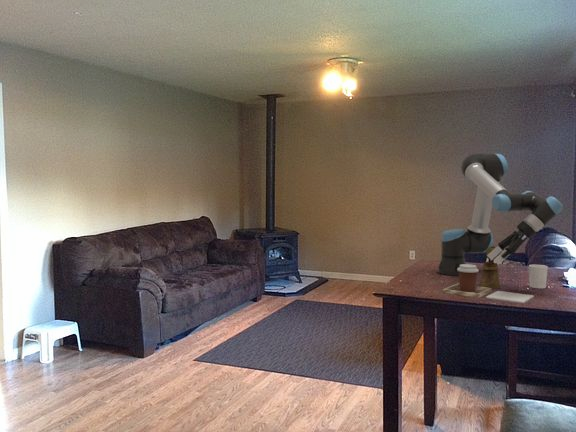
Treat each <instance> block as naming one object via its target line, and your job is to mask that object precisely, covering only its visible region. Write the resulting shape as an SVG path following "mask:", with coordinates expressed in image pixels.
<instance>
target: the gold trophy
mask: <svg viewBox="0 0 576 432" xmlns="http://www.w3.org/2000/svg"><path fill="white" fill-rule="evenodd" d="M496 247H497V246H494V245H493V246H492V247H490V248H488V249H487V250H486V252H485V257H486V258H487V259H488V261H484V262H483V265H482V266H481V268H482V271H481V272H482V273H481V279H480V282H479V283H480V285H479V287H486V288H492V289H499V288H501V283H500V278H499V277H500V276H499V265H498V264H497V263H496V262H495V261H494V259H495V258H496V257H497V256H499V255H500V253H499V254H498V255H497V256H496V257H495V258H494V259H492V260H491V259H490V258H489V257H488V256H487V255H488V254H489V253H490V252H492V251H493V250H494V249H495V248H496Z"/></svg>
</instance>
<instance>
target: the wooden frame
mask: <svg viewBox="0 0 576 432" xmlns="http://www.w3.org/2000/svg"><path fill="white" fill-rule="evenodd" d="M458 287H459V288H458ZM455 288H456V289H460V284H459V283H456V284H453V285H450V286H448V287H445V288H443V289H442V293H443V292H445V293H444V294H449V293H450V294H451V295H456V296H462V297H471V298H477V299H479V298H481V297H483V296H485V295H489V294H491V293H493V288H486V287H481V286H480V285H479V286H477V285H476V287H475V291H480V292H478V293H476V292H475V293H470V292H463V291H460V290H456V289H455ZM452 289H453V290H452ZM450 294H449V295H450Z"/></svg>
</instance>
